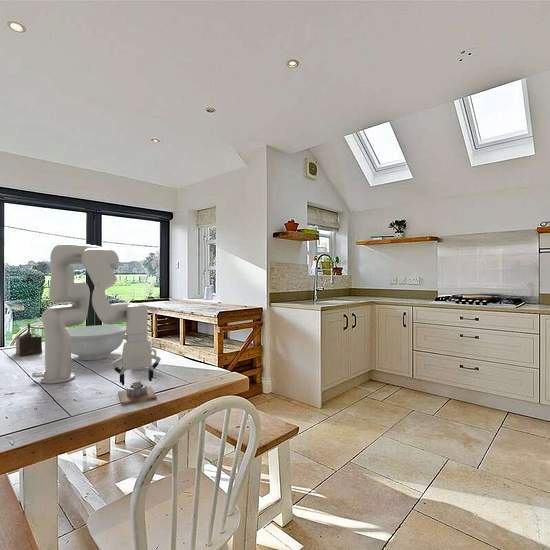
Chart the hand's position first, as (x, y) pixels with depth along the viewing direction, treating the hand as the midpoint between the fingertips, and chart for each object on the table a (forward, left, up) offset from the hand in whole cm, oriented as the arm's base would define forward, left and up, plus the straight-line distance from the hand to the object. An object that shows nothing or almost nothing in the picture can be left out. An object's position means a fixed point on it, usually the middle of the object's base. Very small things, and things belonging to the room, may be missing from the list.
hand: (136, 382), depth 131 cm
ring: (0, 0, -4) cm, 4 cm away
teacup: (+7, +36, -6) cm, 37 cm away
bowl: (-12, +70, -6) cm, 71 cm away
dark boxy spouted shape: (-41, +94, -6) cm, 103 cm away
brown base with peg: (0, 0, -5) cm, 5 cm away
